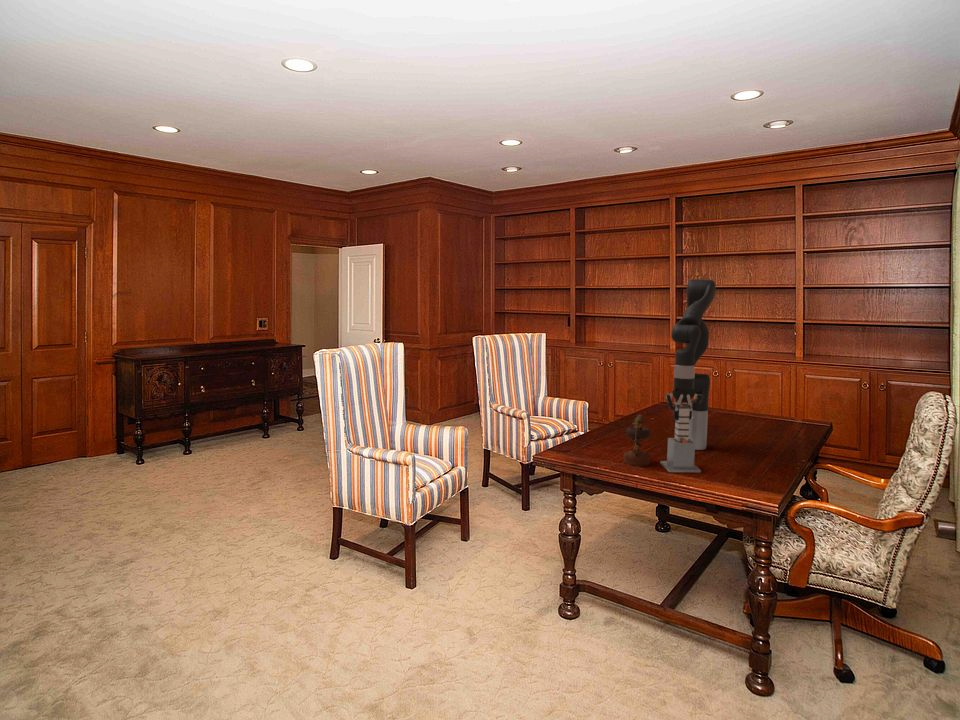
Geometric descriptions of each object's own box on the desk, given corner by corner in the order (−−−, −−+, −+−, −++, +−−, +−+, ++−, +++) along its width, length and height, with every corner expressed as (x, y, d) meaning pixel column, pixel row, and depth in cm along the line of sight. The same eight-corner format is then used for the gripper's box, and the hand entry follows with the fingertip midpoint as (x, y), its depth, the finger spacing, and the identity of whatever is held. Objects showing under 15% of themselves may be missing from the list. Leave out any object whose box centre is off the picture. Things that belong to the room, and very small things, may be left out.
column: (672, 450, 235) (674, 404, 233) (685, 451, 235) (687, 404, 233) (676, 454, 230) (678, 406, 228) (689, 454, 230) (691, 406, 228)
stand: (660, 463, 239) (661, 433, 238) (690, 463, 239) (691, 434, 238) (669, 472, 227) (670, 441, 226) (700, 472, 227) (702, 441, 226)
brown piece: (652, 467, 233) (650, 417, 231) (624, 468, 235) (621, 418, 233) (650, 457, 248) (647, 410, 246) (623, 458, 250) (620, 411, 248)
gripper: (699, 375, 233) (697, 418, 235) (662, 375, 233) (661, 417, 235) (706, 378, 226) (703, 422, 227) (668, 377, 226) (666, 422, 228)
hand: (682, 419), depth 231 cm, fingers closed on column, 4 cm apart
